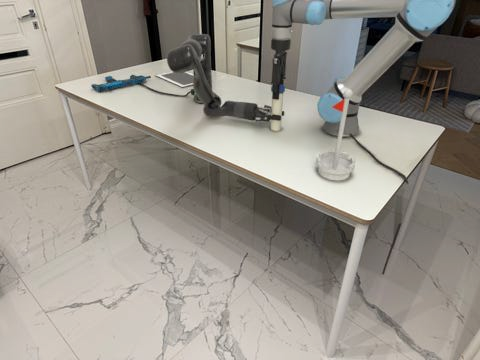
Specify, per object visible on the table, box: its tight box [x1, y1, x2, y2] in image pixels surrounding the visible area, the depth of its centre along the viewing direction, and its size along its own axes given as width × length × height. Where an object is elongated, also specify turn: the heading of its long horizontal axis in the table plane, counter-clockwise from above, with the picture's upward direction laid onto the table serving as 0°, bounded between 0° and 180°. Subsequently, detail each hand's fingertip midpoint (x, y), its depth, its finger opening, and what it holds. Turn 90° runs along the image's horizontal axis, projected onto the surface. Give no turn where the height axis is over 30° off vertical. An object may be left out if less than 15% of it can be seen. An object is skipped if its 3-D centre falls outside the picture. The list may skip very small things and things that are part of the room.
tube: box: [270, 91, 284, 132], centre depth 147 cm, size 5×5×18 cm
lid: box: [270, 84, 286, 94], centre depth 142 cm, size 6×6×2 cm
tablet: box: [155, 71, 194, 88], centre depth 216 cm, size 32×20×1 cm, turn 41°
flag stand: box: [315, 89, 356, 181], centre depth 112 cm, size 13×13×30 cm
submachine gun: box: [90, 74, 152, 92], centre depth 206 cm, size 34×4×25 cm
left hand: (282, 115), depth 147 cm, fingers closed on tube, 4 cm apart
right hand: (277, 96), depth 144 cm, fingers closed on lid, 5 cm apart
